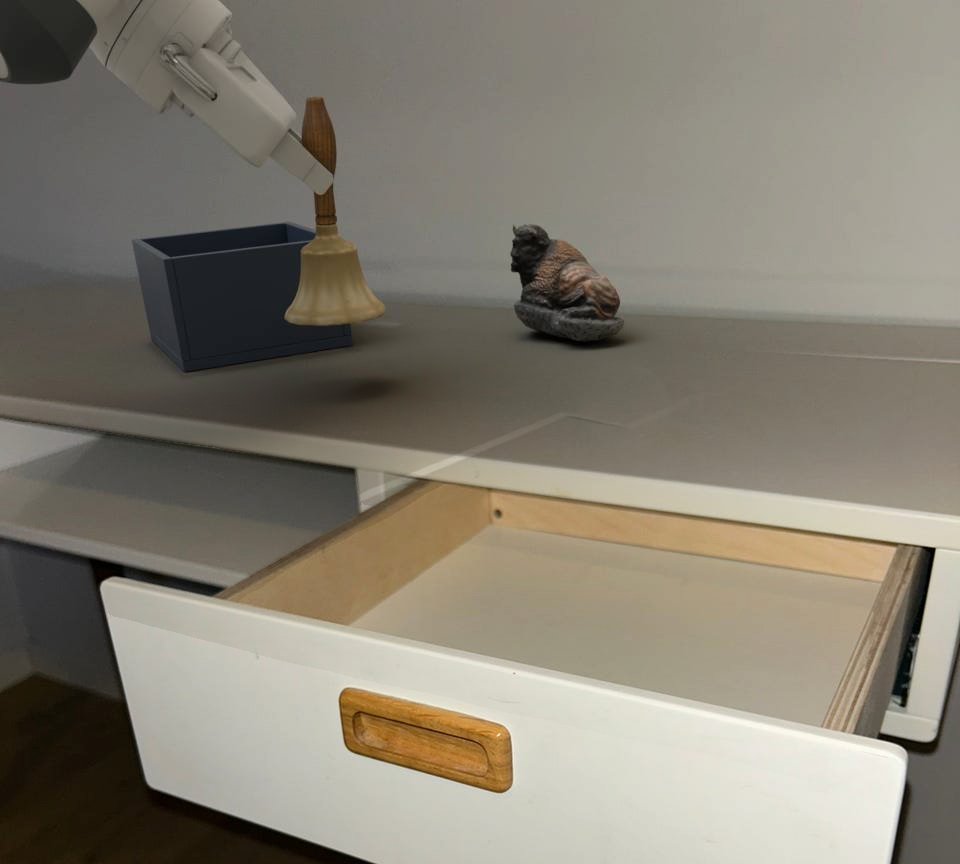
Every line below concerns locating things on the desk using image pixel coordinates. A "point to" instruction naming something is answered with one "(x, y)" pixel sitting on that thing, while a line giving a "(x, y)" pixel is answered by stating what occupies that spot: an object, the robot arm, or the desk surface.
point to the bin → (228, 295)
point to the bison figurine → (561, 289)
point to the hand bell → (329, 246)
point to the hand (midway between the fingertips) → (329, 184)
